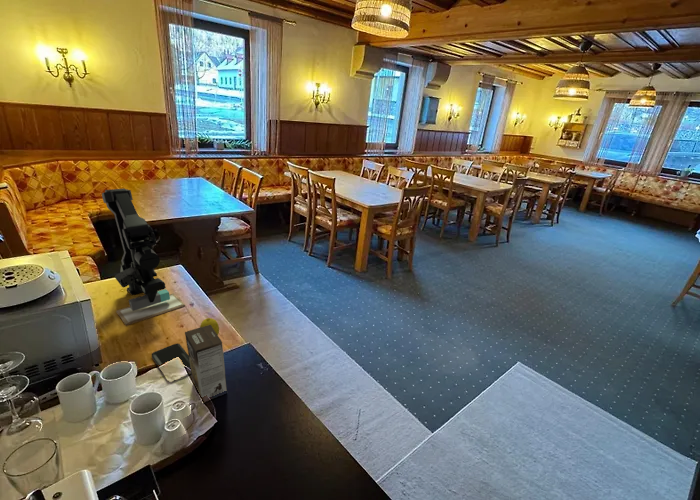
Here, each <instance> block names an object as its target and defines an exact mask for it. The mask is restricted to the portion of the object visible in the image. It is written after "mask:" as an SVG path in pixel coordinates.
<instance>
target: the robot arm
mask: <svg viewBox="0 0 700 500" xmlns="http://www.w3.org/2000/svg"><path fill="white" fill-rule="evenodd" d="M101 197H102V201H103V203H104V204H105V205H106V208H107V209H108V210H109V211H111V213H112V214H113V215H114V219H115V222H116V226H117V229H118V233H119V237H120V241H121V246H122V249H123V255H122V257H121V264H120V272H119V273H117V274H115V276H114V279H115V280H116V281H117V282H118V283H119V285H120V286H121V288H126V290H127V291H128V293H129V294H130V295H131V296H134V295H137V294H141V293H143V294H144V295H147V297H148V299H149V301H150V303H151V302H154V299H155V297H156V294H157V292H158V291H161V290H164V289H167V288H166V287H167V286H166V283H165V282H164V281H163V280H162V279H161V278H159V277H157V276H158V273H157V272H156V271H155V269H156V268H158V266H159V264H160V261H161V260H160V259H161V258H160V257H159V255H158V254H157V253H156V252H155V251H154V250H153V249H152V246H156V245H157V242H156V241H157V238H156V234H155V233H154V230H153V227H151V225H150V224H148V223H147V221H146V219H145V218H143V217H142V216H139V214H138V212H137V210H136V208H135V206H134V204H133V200H134V199H133V194H132V191H131V189H126V188H115V189H105V190H104V192H102V193H101ZM155 277H157V278H155Z"/></svg>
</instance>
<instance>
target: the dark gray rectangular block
mask: <svg viewBox="0 0 700 500" xmlns="http://www.w3.org/2000/svg"><path fill="white" fill-rule="evenodd" d="M166 300H170V291H168V289H167V288H165V289H163V290H159V291H158V292H157V294H156V297H155V299H154V302H151V303H150V301H149V299H148V297H147V295H145V294H144V295H140V296H138V297H137V296H136V297H134V298H130V299H128V303H129V307H130V308H131V309H132V310H133V311H134V310H138V309H141V308H144V307H147V306H150V305H154V304H157V303H160V302H163V301H166Z"/></svg>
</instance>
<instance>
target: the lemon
mask: <svg viewBox="0 0 700 500" xmlns="http://www.w3.org/2000/svg"><path fill="white" fill-rule="evenodd" d="M217 321H218V320H216V319H214V318H211V317H208V318H205V319H203V320H202V321H201V322H200V325H199V328H200V327H205V326H208V325H211V326H212V328H213V329H214V331H215V332H216V334H217V335H218V336H219V333H220V325H219V324H218V323H219V322H217Z"/></svg>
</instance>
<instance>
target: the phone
mask: <svg viewBox="0 0 700 500" xmlns="http://www.w3.org/2000/svg"><path fill="white" fill-rule="evenodd" d="M176 357H179V358H180V359H181V360H182V362H183V364H184V365H185V366H187V367H190V361H189V355H188V352H187V351H186V350H185V349H184V348H183V346H182V345H181V344H180V343H174V344H171V345H169V346H166V347H163V348H160V349H158V350H155V351H153V352H152V353H151V358H152V360H153V361H154V362H155V365H156V366H157V365H161V364H163V363H165V362H167V361H170V360H172V359H173V358H176Z"/></svg>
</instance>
